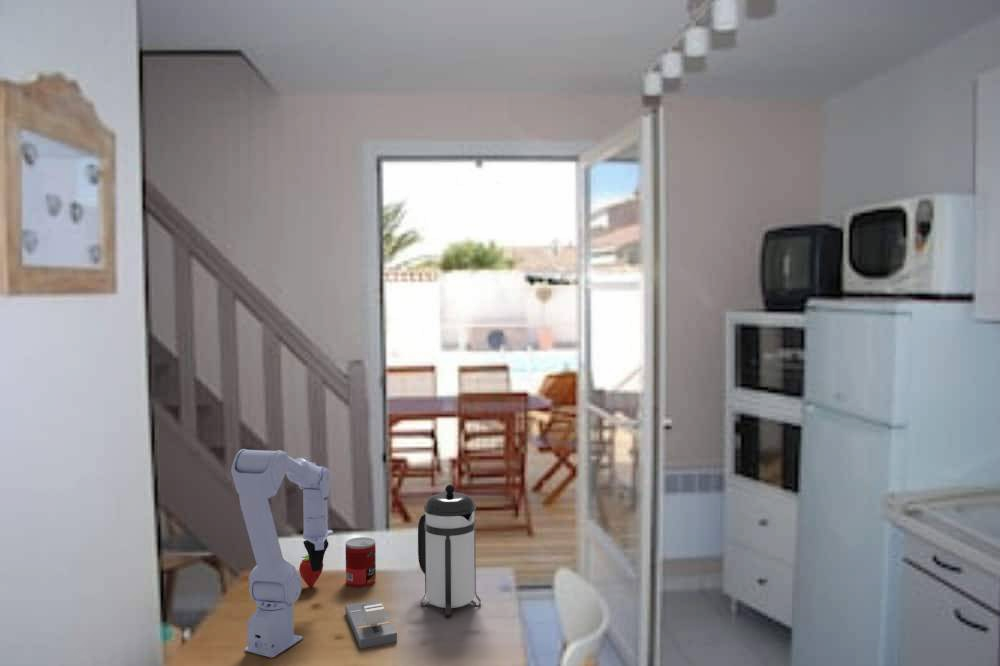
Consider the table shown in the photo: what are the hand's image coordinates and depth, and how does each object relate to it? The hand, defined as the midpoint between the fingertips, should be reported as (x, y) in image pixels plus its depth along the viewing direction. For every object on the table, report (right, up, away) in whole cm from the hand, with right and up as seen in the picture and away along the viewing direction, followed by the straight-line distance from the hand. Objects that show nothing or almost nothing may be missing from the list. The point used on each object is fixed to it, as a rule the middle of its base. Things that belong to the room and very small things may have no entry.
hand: (316, 570), depth 166 cm
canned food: (+8, -9, +17) cm, 20 cm away
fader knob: (+17, -7, -14) cm, 23 cm away
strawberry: (-5, -9, +13) cm, 17 cm away
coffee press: (+32, -9, +2) cm, 33 cm away
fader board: (+15, -10, -10) cm, 21 cm away
